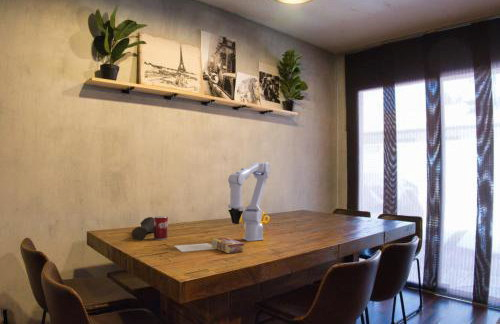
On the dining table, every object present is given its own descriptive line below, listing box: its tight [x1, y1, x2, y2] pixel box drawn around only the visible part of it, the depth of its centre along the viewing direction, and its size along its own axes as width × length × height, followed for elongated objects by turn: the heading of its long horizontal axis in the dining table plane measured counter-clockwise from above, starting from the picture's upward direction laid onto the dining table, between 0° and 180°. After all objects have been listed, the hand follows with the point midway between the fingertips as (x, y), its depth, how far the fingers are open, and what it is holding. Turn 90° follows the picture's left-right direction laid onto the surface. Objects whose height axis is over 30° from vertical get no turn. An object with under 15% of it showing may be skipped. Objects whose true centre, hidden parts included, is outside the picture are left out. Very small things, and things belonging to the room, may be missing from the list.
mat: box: [174, 242, 217, 253], centre depth 163 cm, size 17×13×1 cm
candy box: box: [211, 237, 245, 254], centre depth 160 cm, size 9×4×15 cm
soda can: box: [153, 215, 169, 241], centre depth 183 cm, size 7×7×12 cm
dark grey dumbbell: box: [131, 216, 154, 241], centre depth 192 cm, size 11×10×28 cm
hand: (235, 223), depth 173 cm, fingers open, 2 cm apart
